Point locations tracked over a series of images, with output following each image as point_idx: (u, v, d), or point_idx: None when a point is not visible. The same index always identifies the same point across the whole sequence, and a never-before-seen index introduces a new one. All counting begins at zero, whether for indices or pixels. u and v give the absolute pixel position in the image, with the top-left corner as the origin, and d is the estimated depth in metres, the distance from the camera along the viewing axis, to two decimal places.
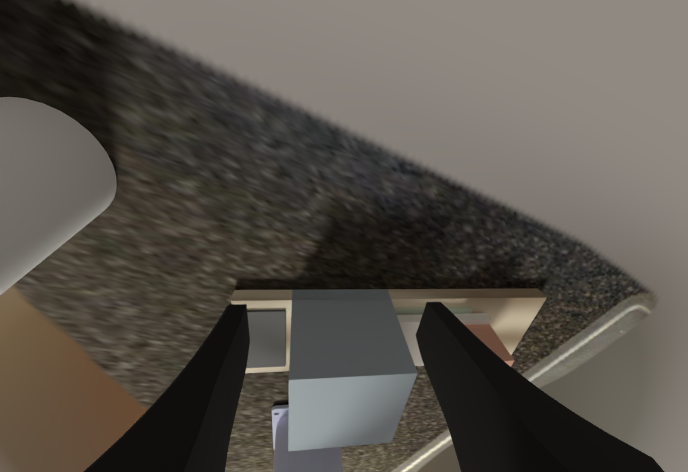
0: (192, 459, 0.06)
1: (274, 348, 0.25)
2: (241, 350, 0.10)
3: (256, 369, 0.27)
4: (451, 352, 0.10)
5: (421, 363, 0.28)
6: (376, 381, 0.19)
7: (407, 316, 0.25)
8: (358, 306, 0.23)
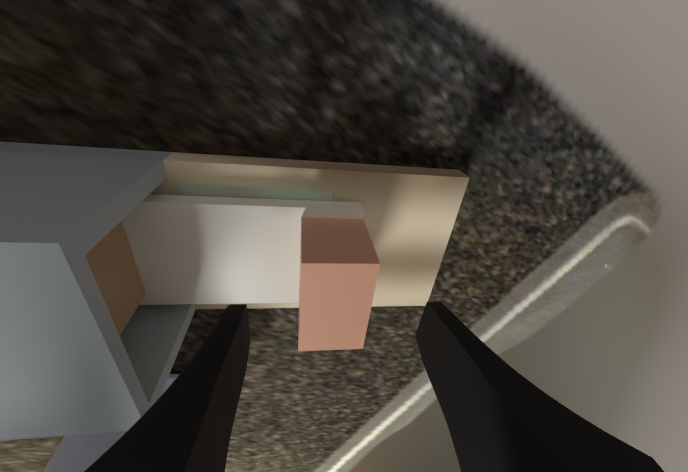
0: (192, 459, 0.06)
1: None
2: (241, 350, 0.10)
3: None
4: (451, 352, 0.10)
5: (262, 298, 0.16)
6: None
7: (203, 198, 0.13)
8: (77, 161, 0.12)
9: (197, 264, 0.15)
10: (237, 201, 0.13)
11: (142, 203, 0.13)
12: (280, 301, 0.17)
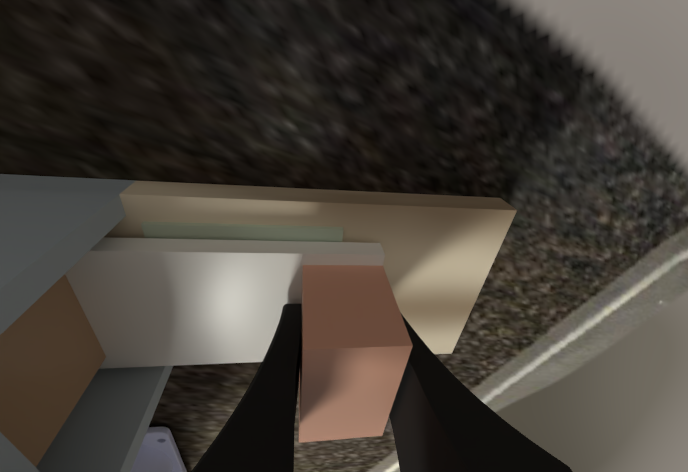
0: (293, 450, 0.06)
1: None
2: (300, 348, 0.11)
3: None
4: None
5: (254, 357, 0.13)
6: None
7: (174, 242, 0.10)
8: None
9: (170, 322, 0.11)
10: (219, 246, 0.10)
11: (90, 252, 0.09)
12: None
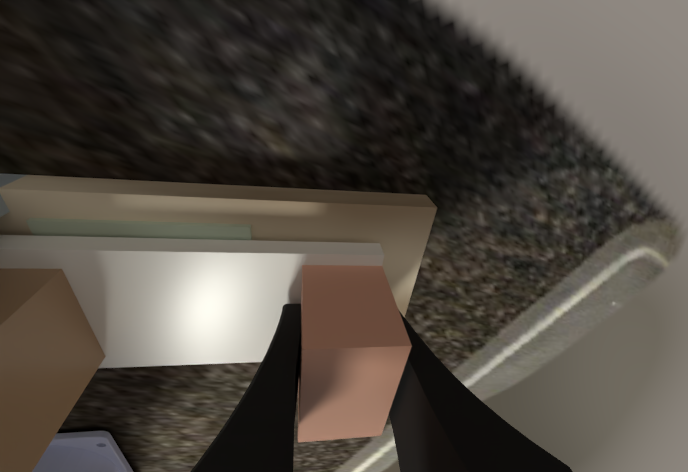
0: None
1: None
2: None
3: None
4: None
5: (254, 357, 0.13)
6: None
7: (174, 241, 0.10)
8: None
9: (169, 322, 0.11)
10: (219, 246, 0.10)
11: (90, 252, 0.09)
12: None
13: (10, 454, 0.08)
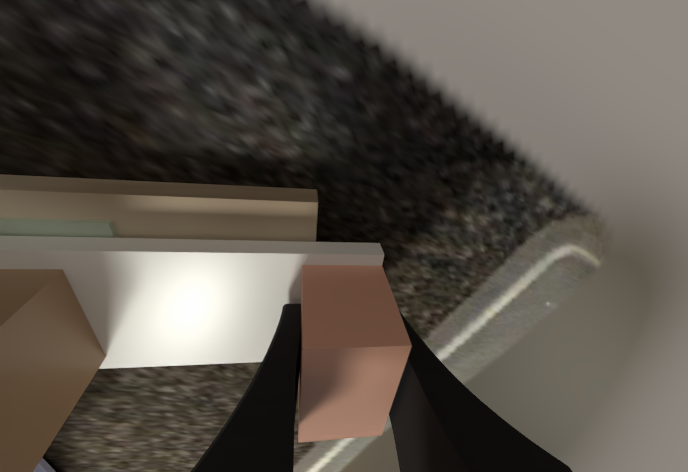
0: (293, 450, 0.06)
1: None
2: None
3: None
4: None
5: (254, 357, 0.13)
6: None
7: (174, 242, 0.10)
8: None
9: (169, 322, 0.11)
10: (219, 246, 0.10)
11: (90, 253, 0.09)
12: None
13: (11, 454, 0.08)
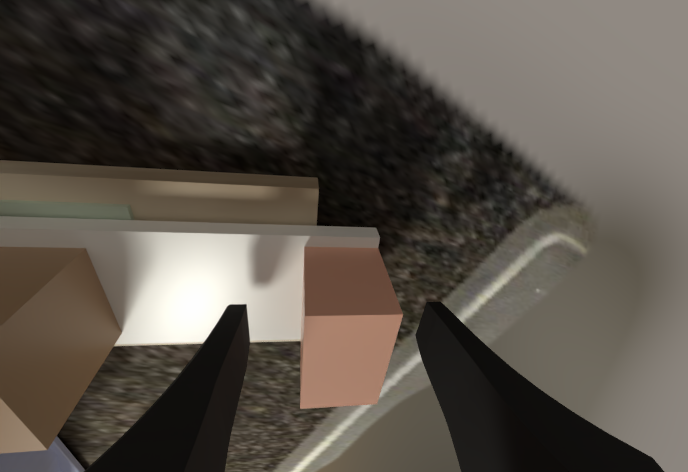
0: (192, 459, 0.06)
1: None
2: (241, 350, 0.10)
3: None
4: (451, 352, 0.10)
5: (259, 335, 0.14)
6: None
7: (186, 224, 0.11)
8: None
9: (181, 300, 0.12)
10: (228, 228, 0.11)
11: (111, 233, 0.10)
12: (279, 338, 0.14)
13: (43, 410, 0.09)
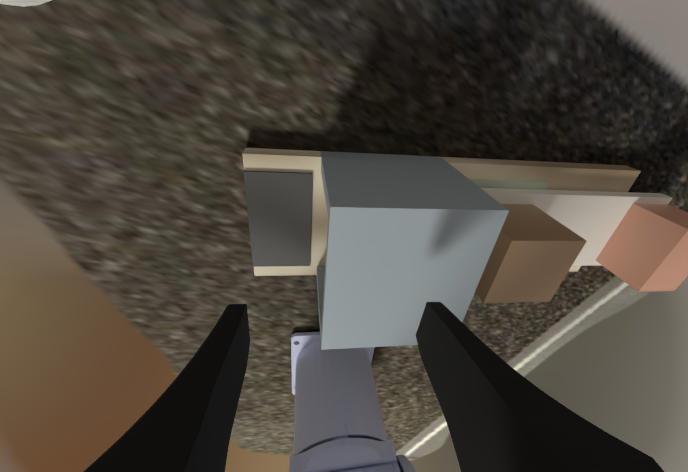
0: (192, 459, 0.06)
1: (297, 236, 0.20)
2: (241, 350, 0.10)
3: (274, 270, 0.22)
4: (451, 352, 0.10)
5: None
6: (451, 222, 0.13)
7: (575, 191, 0.20)
8: (408, 164, 0.18)
9: None
10: (597, 193, 0.20)
11: (550, 195, 0.20)
12: (581, 264, 0.24)
13: None
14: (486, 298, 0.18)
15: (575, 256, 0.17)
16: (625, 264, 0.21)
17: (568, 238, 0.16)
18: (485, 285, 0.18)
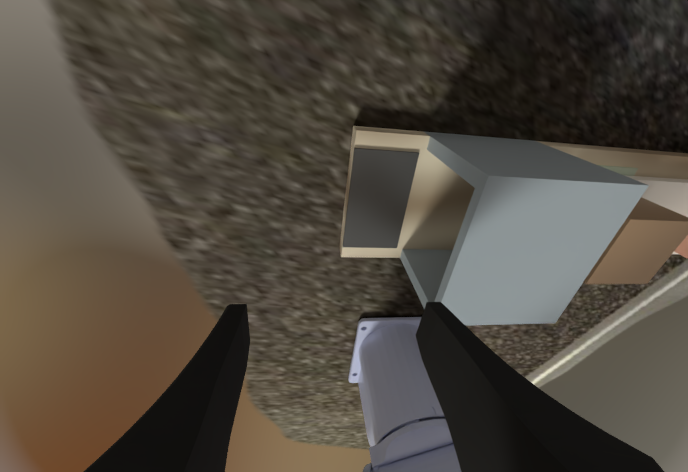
0: (192, 459, 0.06)
1: (391, 216, 0.20)
2: (241, 350, 0.10)
3: (360, 252, 0.22)
4: (451, 352, 0.10)
5: None
6: (593, 195, 0.13)
7: (662, 178, 0.21)
8: (514, 145, 0.18)
9: None
10: (683, 181, 0.21)
11: (642, 181, 0.20)
12: None
13: None
14: (589, 279, 0.18)
15: (682, 238, 0.17)
16: None
17: (679, 219, 0.16)
18: None
